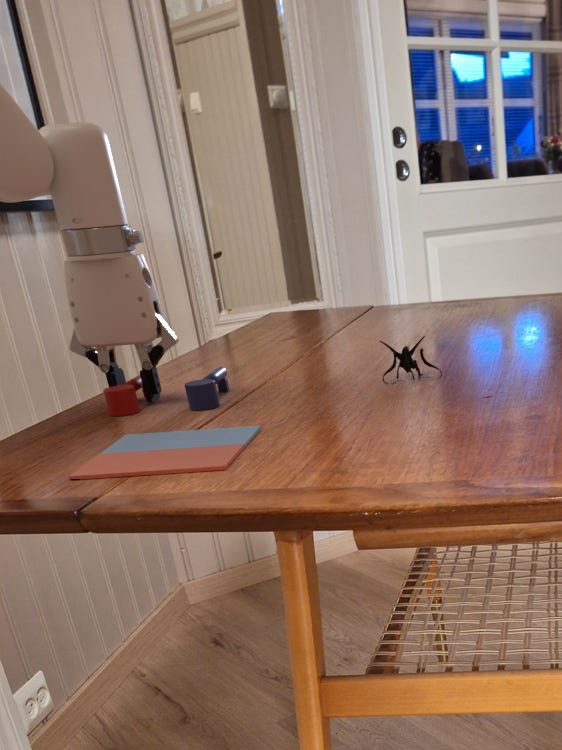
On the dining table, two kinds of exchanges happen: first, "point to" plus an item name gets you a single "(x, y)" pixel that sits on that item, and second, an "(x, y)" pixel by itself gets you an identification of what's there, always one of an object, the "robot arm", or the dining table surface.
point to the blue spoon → (207, 390)
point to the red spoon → (123, 398)
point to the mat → (169, 453)
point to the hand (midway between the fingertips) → (138, 399)
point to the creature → (407, 361)
